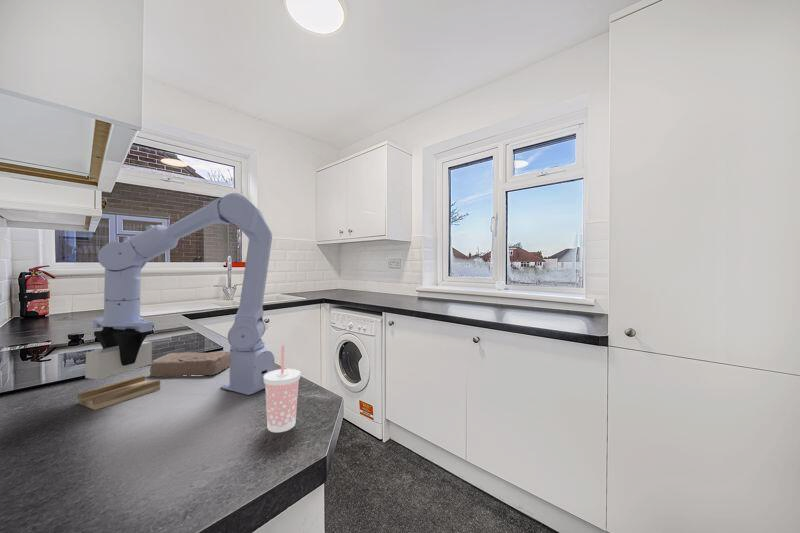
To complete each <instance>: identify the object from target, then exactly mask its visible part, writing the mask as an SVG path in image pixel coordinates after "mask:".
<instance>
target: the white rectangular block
mask: <svg viewBox="0 0 800 533" xmlns="http://www.w3.org/2000/svg"><path fill="white" fill-rule="evenodd" d="M152 356H153V342H152V341H145V340H144V341H143V343H142V344H141V347H140V349H139V352H138V355H137V358H136V361H135V363H133V364H129V365H126V366H122V364H121V360H120V350H119V346H115V347H110V348H105V349H103V348H101V349H97V350H92V351H88V352H87V351H86V353H85V374H84V375H85V377H84V378H85V379H92V380H96V381H98V380H101V379H105V378H108V377H112V376H115V375H119V374H122V373H126V372H129V371H133V370H137V369H140V368H143V367H147V366H151V364H152V361H153V357H152Z"/></svg>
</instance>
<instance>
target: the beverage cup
mask: <svg viewBox="0 0 800 533" xmlns="http://www.w3.org/2000/svg"><path fill="white" fill-rule="evenodd" d="M280 352H281V353H280V355H281V356H280V368H279V369H274V371H270V372H268V373H266V374H265V375H264V376H263V378H264V383H265V388H264V390H265V402H266V403H265V405H266V406H265V408H266V425H267V426H266V429H267V430H268V431H269V432H271V433H283V432H288V431H289V430H291V429H292V428H294V427H295V426H296V420H297V419H296V418H297V410H298V409H297V407H298V395H299V394H298V392H299V382H300V381H299V380H300V378H301V374H302V373H301V371H300V370H299V369H295V368H285V344H284V345H281V351H280Z"/></svg>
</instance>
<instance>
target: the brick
mask: <svg viewBox="0 0 800 533" xmlns="http://www.w3.org/2000/svg"><path fill="white" fill-rule="evenodd" d="M229 365H230V351H225V350H224V351H212V352H211V351H210V352H193V351H192V352H189V351H187V352H182V351H181V352H170V353H167V354H164V355H162V356H160V357H157V358H155V359H154V360H153V359H152V364H151V365H150V369H149V377H150V376H165V377H170V376H174V377H184V376H183V375H187V376H186V377H192V376H191V375H209V376H213V375H218V374H220V373H221V371H222V370H223V371H225V370H226V369H227V368H228V366H229ZM229 367H230V366H229ZM224 369H225V370H224ZM223 371H222V372H223ZM219 372H220V373H219ZM189 375H190V376H189Z"/></svg>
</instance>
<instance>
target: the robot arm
mask: <svg viewBox="0 0 800 533" xmlns="http://www.w3.org/2000/svg"><path fill="white" fill-rule="evenodd" d="M231 223H232V224H233V225H235V226H237V227H238V228H239V229H240V230H241V231H242V232H243V234H244V235H245V236H246V237H247V238H248V244H247V252H246V258H245V265H244V272H243V279H242V286H241V293H240V301H239V306H238V308H237V309H238V310H237V311H236V314H235V317H234V323H233V324H232V326H231V328H230V329H229V330H228V333H227V341H228V343H229V345H230V347H229V352H230V366H229V382H227V383H223V384H222V385H220V389H224V390H227V391H231V392H235V393H240V394H243V395H247V396H250V395H253V394H256V393H257V392H260V391H262V390H265V383H264V378H263V376H264V375H265V374H266V373H268V372H270V371H274V370H275V356H274V354H273V352H272V351H270V350H268V349H267V348H266V347H265V342H264V341H263V339H262V338H263V336H264V334H265V332H266V323H265V321H264V307H263V306H264V305H263V304H264V297H265V291H266V290H265V289H266V285H267V277H268V271H269V270H268V269H269V264H270V263H269V262H270V256H271V249H272V242H273V233H272V230H271V229H270V227H269V225H268V223H267V221H266V219H265V218H264V215H263V212H261V211H260V209H258V207H257V206H255V205H254V204H253V203H252V201H250V200H249V199H248V198H247V197H246V196H245V195H243V194H242V193H235V192H234V193H233V192H232V193H229V194H226V195H224V196H223V197H222V198H221V197H219V198H216V199H214V200H212V201H210V203H208V204H206V205H204V206H203V207H200V208H199V209H197V210H195V211H194V212H192V213H190V214H188V215H186V216H184V217H183V218H181V219H179V220H177V221H175V222H173V223H172V224H170V225H168V226H167V225H163V224H156V225H152V224H149V225H147V226H145V229H146V230H144V231H141V232H140V233H137V234H135V235H134V236H132V237H131V236H127V237H124V238H123V241H122V242H119V241H112V242H111V241H110V242H108V243H106V244H105V245H104V246H102V247H101V248H100V250H99V251H98V253H97V260H98V262H99V264H100V265H101V266H102V267H103V268H104V285H103V286H104V292H103V294H104V296H103V303H104V304H103V317H101V318H93V319H92V329H99V328H100V329H101V328H102V329H101V330H99V331H95V332H93V335H94V337H95V338H96V339H97V341H98V343H100V345H101V347H102V348H101V349H105V348H110V347H115V346H119V350H120V360H121V364H122V366H126V365H129V364H133V363H135V361H136V358H137V355H138V352H139V349H140V347H141V344H142V343H143V341H144V342H145V339H146V338H147V336H149V334H150V332H151V331H153V327H154V326H153V323H154V322H153V321H152V320H146V317H142V316H141V291H142V290H141V288H142V287H141V286H142V285H141V284H142V282H141V280H142V278H141V275H142V274H141V273H142V269H143V268H144V267H145V266H146V264H147V262H149V261H151V260H153V259H155V258H157V257H159V256H161V255H163V254H165V253H168V252H169V251H171V250H173V249H175V248H177V245H178V243H179V240H180V239H182V238H184V237H187V236H189V235H191V234H194V233H195V232H198V231H200V230H202V229H206V228H207V227H209V226H212V225H214V224H215V225H216V224H219V225H228V226H229V225H231Z"/></svg>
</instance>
